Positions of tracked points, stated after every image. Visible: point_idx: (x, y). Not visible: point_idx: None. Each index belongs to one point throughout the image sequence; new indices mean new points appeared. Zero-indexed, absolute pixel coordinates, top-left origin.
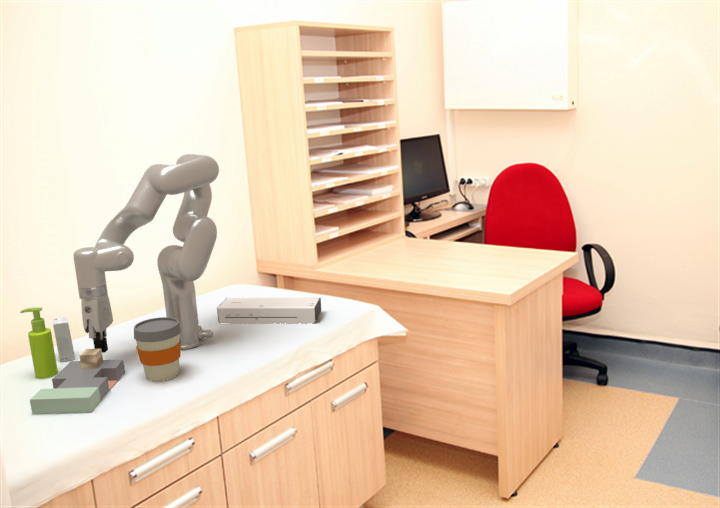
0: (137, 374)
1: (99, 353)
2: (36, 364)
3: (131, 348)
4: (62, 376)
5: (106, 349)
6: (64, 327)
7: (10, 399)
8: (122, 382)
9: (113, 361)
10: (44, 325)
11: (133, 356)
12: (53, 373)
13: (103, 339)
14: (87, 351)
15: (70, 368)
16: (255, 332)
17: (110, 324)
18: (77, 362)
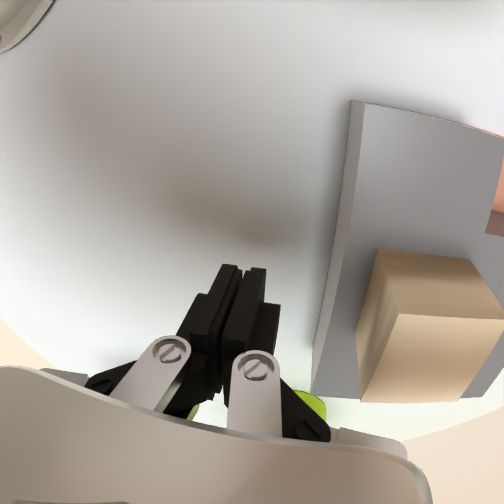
0: (391, 25)
1: (440, 300)
2: None
3: (45, 178)
4: (480, 375)
5: (240, 273)
6: None
7: (442, 425)
8: (480, 98)
9: (393, 175)
10: None
11: (119, 127)
12: (310, 401)
13: (243, 347)
14: (416, 383)
15: None
16: None
17: (71, 389)
18: (337, 372)
